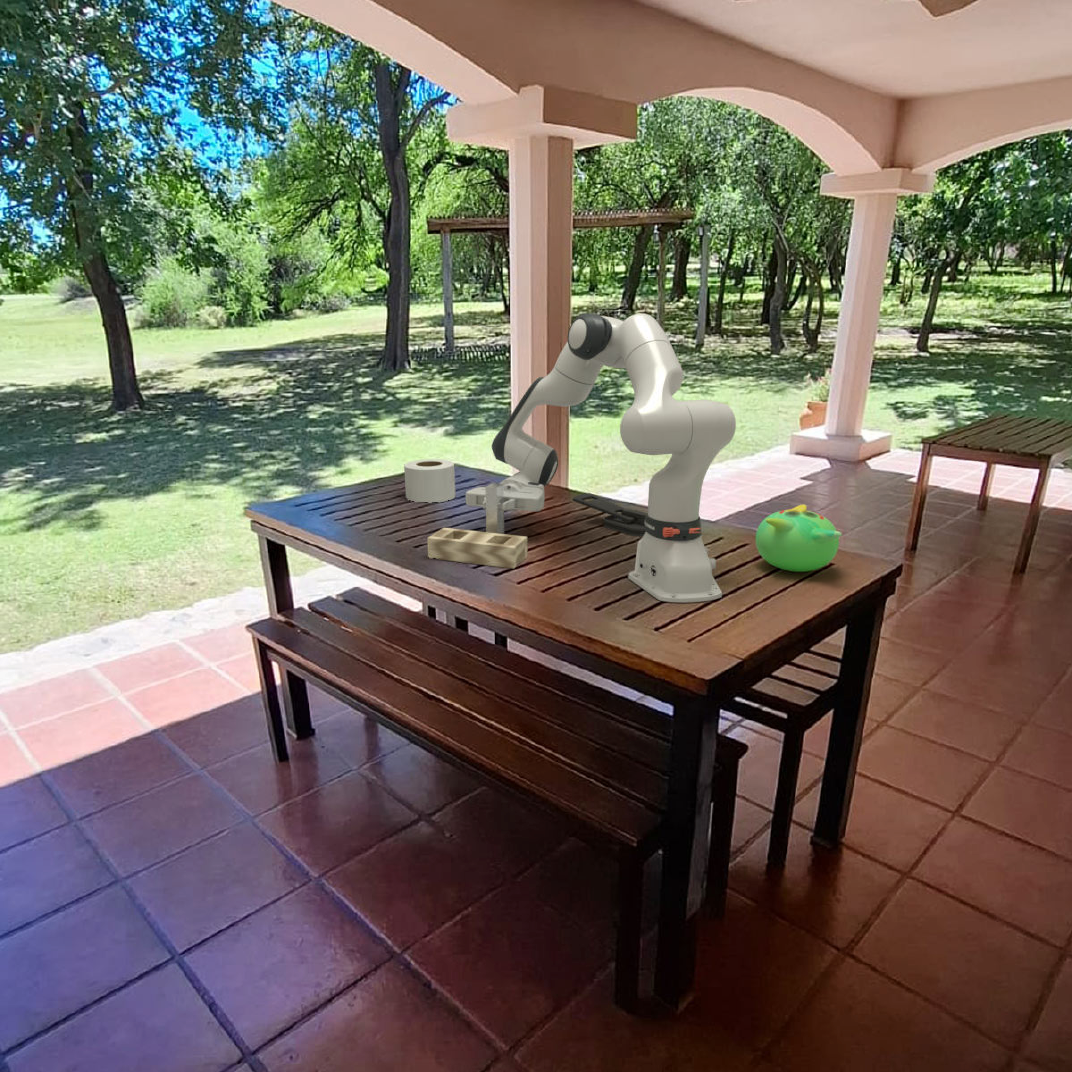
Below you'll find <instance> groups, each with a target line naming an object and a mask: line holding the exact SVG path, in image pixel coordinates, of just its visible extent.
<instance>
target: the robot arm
mask: <svg viewBox="0 0 1072 1072" xmlns="http://www.w3.org/2000/svg"><path fill="white" fill-rule="evenodd" d="M604 366H605V367H609V368H615V369H623V370H624V371H626V372H627V374H628V377H629V380H630V382H631V386H632V389H633V392H634V393H633V394H634V400H633V403H632V405H631V406H630V407H629V408H627V409H626V411H625V413H624V414H623V416H622V418H621V421H620V425H619V432H620V433H619V434H620V438H621V441H622V443H623V445H624V446H625V448H626V449H627V450H628V451H629V452H631V453H634V454H641V455H648V456H659V455H660V456H661V455H662V456H663V455H671V456H670V459H669V461H668V462H667V463H666V464H665V465H664V467H663V468H661V469H659V470H658V471H657V472H656V473H654V474H653V475H652V477H651V479H650V481H649V484H648V497H647V499H648V501H647V512H646V513H647V514H646V517H645V531H646V532H645V534H644V536H642V537H641V538H640V539H639V540H638V542H637V546H636V556H635V565H634V570H632V571H630V572H629V573H628V576H627V578H628V579H629V580H630V581H632V582H633V583H634V584H636V585H638V587H640V588H642V589H643V590H644V591H645V592H647V593H649V595H651V596H652V597H654V598H655V599H657V600H659V601H661V602H668V603H700V602H701V603H702V602H709V601H714V600H717V599H720V598H722V597H723V592H722V590H721V588H720V585H718V583H717V581H716V580H715V577H714V576H713V572H712V571H713V570H715V569H716V565H717V563H716V562H717V561H716V558H714V557H713V558H711V557H710V558H709V555H708V554H709V548H708V547H705V543H704V541H703V538H702V522H701V516H700V505H701V499H702V498H701V496H702V488H703V483H704V479H705V477H706V475H707V472H708V470H709V467H710V466H711V464H712V462H713V460H714V459H715V458H716V457H717V456H718V454H719V453H720V452H721V450H723V449H724V448H725V447H726V446H727V445H729V444H730V443H731V442H732V440H733V437H734V436H735V433H736V429H737V422H736V417H735V414H734V412H733V410H732V408H731V407H730V406H729V405H728V404H727V403H724V402H720V401H714V400H708V399H694V400H677V399H675V397H673V396H674V395H675V394H676V393H677V392H678V391H679V390H680V388H681V386H682V384H683V380H684V372H683V368H682V366H681V364H680V361H679V359H678V357H677V355H676V352H675V350H674V349H673V346H672V343H671V342H670V340H669V338H668V335H667V334H666V333H665V331H664V329H663V328H662V327H661V325H660V324H659V323H658V321H657V320H656V319H655V318H654V316H652V315H650V314H647V313H634V314H632V315H631V316H628V317H627V318H626V319H624V320H621V319H619V318H615V317H612V316H605V315H600V314H598V313H582V314H579V315H578V316H577V317H576V318H575V319H574V320H572V322H571V324H570V326H569V328H568V333H567V341H566V344H564V347H563V348H562V350H561V352H560V353H559V356H558V357H557V360H556V362H555V364H554V367H553V368H552V369H551V371H550V372H549V374H547V375H546V376H542V377H541V376H540V377H538V378H537V379H535V380H534V381H533V382H532V383H531V385H529V387H528V388H527V390H526V391H525V392H524V394H523V396H522V397H521V398H520V400H519V402H518V404H517V405H516V406H515V408H514V409H513V411H512V413H511V414H510V416H509V417H508V418H507V420H506V422H505V424H504V425H502V428H501V429H500V430H499V431H498V433H497V434H496V435H495V436H494V438H493V440H492V443H491V450H492V453H493V456H494V458H495V459H496V460H497V461H500V462H502V463H504V464H506V465H508V466H511V467H512V468H514V469H516V470H518V471H517V472H515V473H513V475H511V476H508V477H507V478H505V479H504V480H502V481H501V482H499V484H504V502H501V503H500V504H499V510H504V512H505V511H507V512H517V511H527V512H540V511H542V510H543V509H544V507H545V487H546V486H547V485H549V484H550V483H551V481H552V479H553V478H554V476H555V474H556V472H557V469H558V467H559V457H558V454H557V453H558V452H557V451H556V449H554V448H553V447H552V446H549V445H548V444H546V443H544V442H542V441H541V440H539V439H536V438H535V437H533V436H531V435H529V434H528V433H526V432H525V431H524V430H523V427H524V426H525V424H526V422H527V421H528V419H529V418H530V417H531V415H532V413H534V412H533V411H534V410H535V408H536V407H537V406H541V405H543V406H544V405H545V406H555V407H562V408H563V407H566V408H567V407H574V406H577V405H579V404H581V403H583V402H585V400H586V399H587V398H588V396H589V394H590V393H591V391H592V390H593V387H594V385H595V383H596V380H597V379H598V376H599V375H600V371H601V370H602V369H603V367H604ZM485 487H486V486H485ZM485 487H484V486H482V487H481V486H478V487H475V488H472V489H469V490H467V491H466V492H465V504H466V506H468V507H470V506H471V507H478V508H479V507H482V508H483V510H486V491H485Z"/></svg>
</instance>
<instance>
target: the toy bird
mask: <svg viewBox="0 0 1072 1072" xmlns="http://www.w3.org/2000/svg"><path fill="white" fill-rule="evenodd" d="M807 507H808V506H807V505H806V504H799V505H797V506H795V507H793V508H791V509H782V510H780V511H776V512H773V513H771V514H770V515H768V516H767V517H765V518H764V519H763V520H762V521H761V522H760V524H759V525H758V527H757V530H756V533H755V547H756V548H757V551H758V553H759V555H760V556H761V557H762V559H763V560H764V561H766V563H768V564H770V565H771V566H774V567H776V568H779V569H781V570H784V571H787V572H788V571H789V572H795V573H797V572H798V573H801V572H804V573H805V572H812V571H817V570H819V569H821V568H823V567H825V566H827V565H828V564H829V563H830V562H831V561H832V560H833V559H834V558H835V556H836V555H837V553H838V549H839V546H840V538H841V537H842V536H843V535H842V534H843V533H842V532H841V531H837V529H836V527H835V525H834V524H833V522H831V521H830V520H829V519H828V518H827V517H825V516H823V515H821V514H820V513H817V512H814V511H811V510H807Z"/></svg>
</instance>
